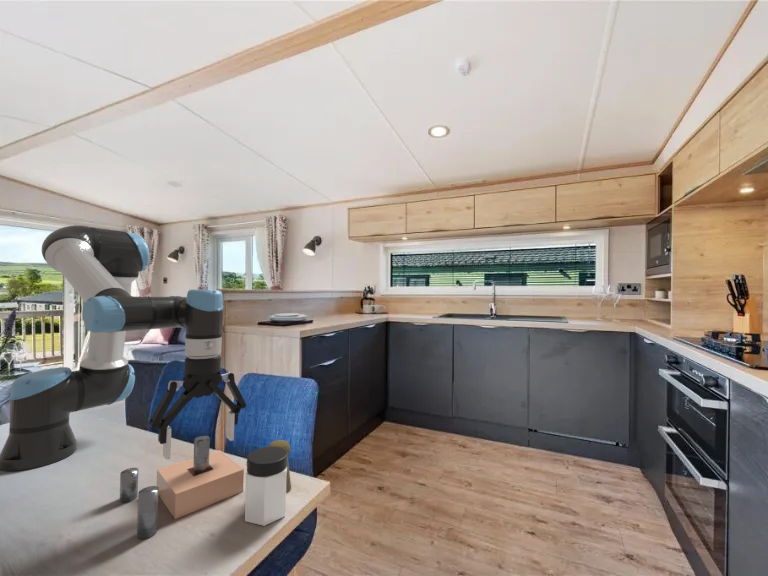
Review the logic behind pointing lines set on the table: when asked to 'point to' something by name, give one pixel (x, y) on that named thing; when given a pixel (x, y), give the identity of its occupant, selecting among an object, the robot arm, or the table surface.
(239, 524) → the table surface
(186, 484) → the socket block
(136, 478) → the short pin
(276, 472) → the jar
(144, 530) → the medium pin
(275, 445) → the olive pawn
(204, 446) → the long pin
